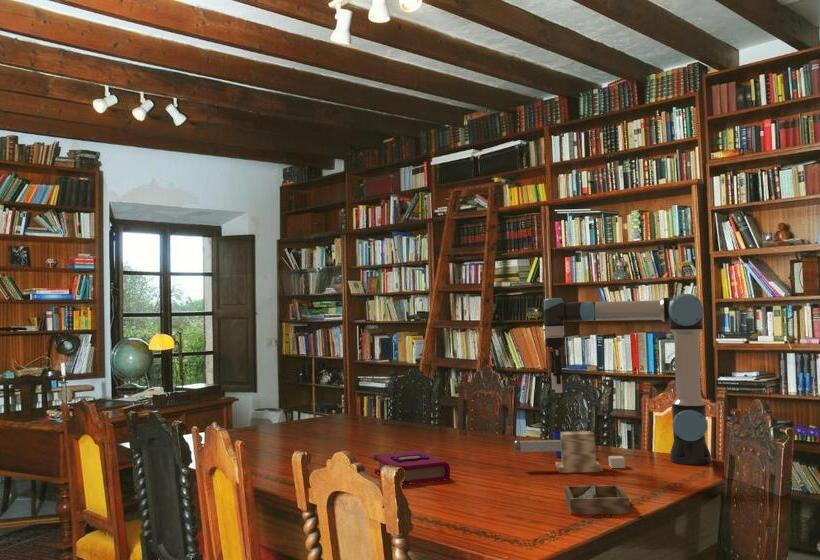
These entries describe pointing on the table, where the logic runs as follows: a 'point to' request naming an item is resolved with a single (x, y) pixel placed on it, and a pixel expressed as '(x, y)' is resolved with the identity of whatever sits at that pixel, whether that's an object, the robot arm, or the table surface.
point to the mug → (557, 437)
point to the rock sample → (590, 493)
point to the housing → (578, 453)
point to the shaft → (538, 445)
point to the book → (415, 466)
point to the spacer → (616, 462)
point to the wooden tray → (597, 500)
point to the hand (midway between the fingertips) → (557, 391)
